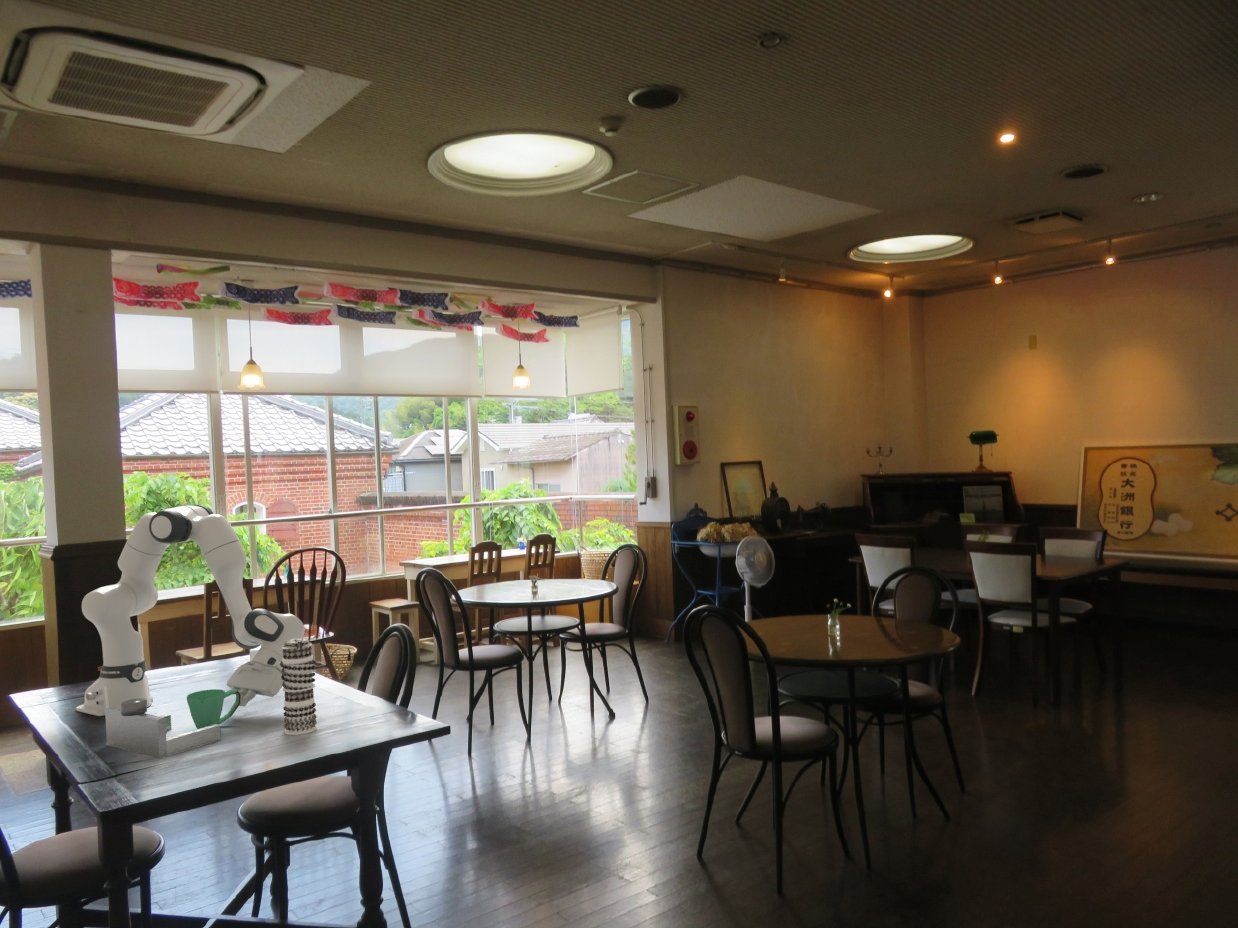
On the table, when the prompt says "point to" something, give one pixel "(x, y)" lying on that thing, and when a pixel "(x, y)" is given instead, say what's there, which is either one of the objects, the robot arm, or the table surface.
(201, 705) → the mug
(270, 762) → the table surface
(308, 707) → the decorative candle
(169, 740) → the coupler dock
